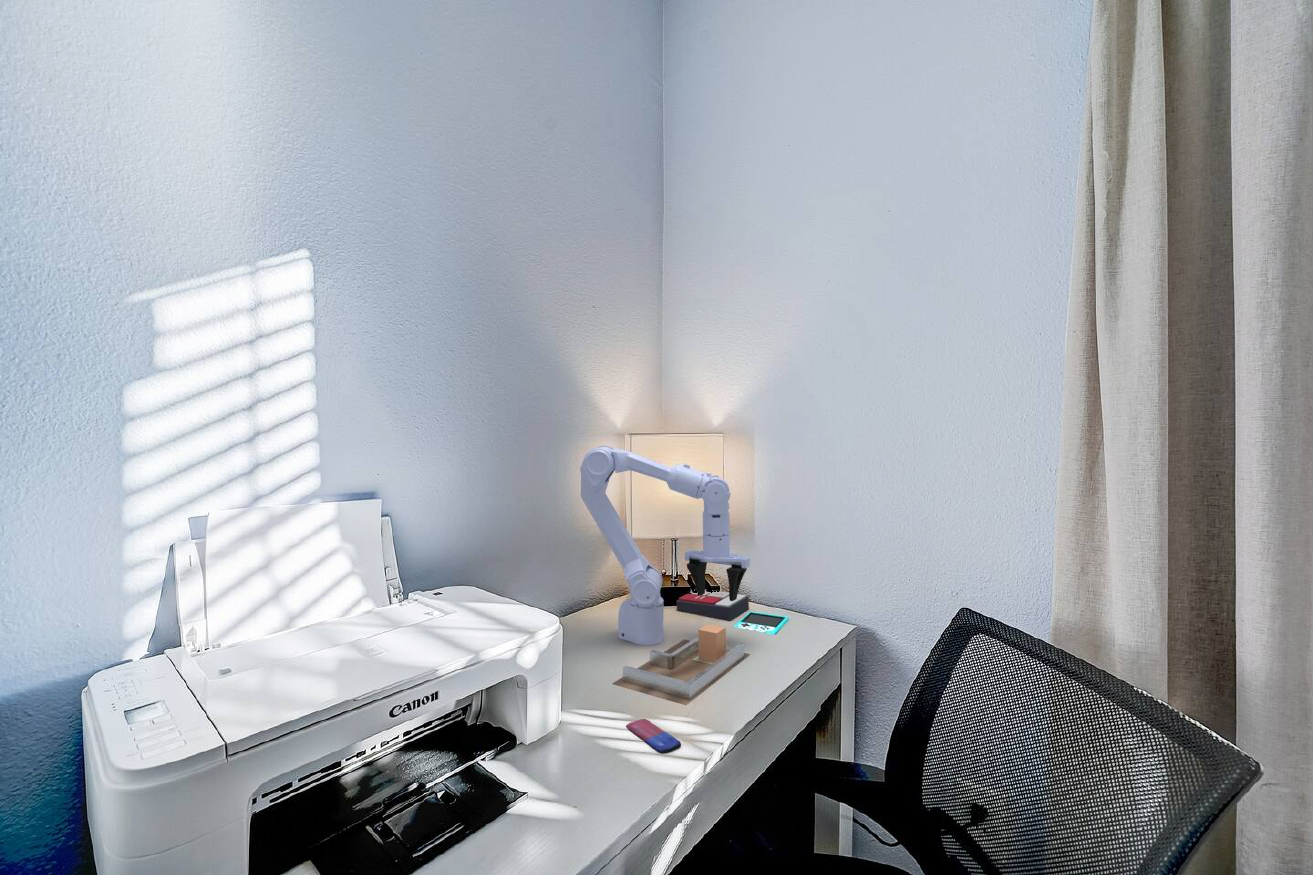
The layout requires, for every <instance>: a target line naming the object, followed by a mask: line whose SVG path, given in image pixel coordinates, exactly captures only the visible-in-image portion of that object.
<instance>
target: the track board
mask: <svg viewBox="0 0 1313 875" xmlns="http://www.w3.org/2000/svg"><path fill="white" fill-rule="evenodd" d="M690 641H691V640H689V639H685V638H684V639H683V640H681V641H679V642H678V643H676V644H674V645H673V646H671V647H669V648H668V649H666V650H665V651H663V652H664V653H668V654H671V653H673V652H674V651H676V650H677V649H679V648H681V647H682V646H684V645H685V644H687V643H689V642H690ZM730 650H731V649H729V648H726V653H728V652H729V651H730ZM751 655H752V654H751V653H746V652H744V658H742V659H741V660H740V661H738V662H737V663H736V664H735V665H733V666H732V667H731V668H729V669H728V670H727V671H726V672H724V673H723V674H722V675H721V676H719V677H718V678H717V679H715V680H714V681H713V682H712V683H710V684H709V685H708V686H707V687H705V688H704V689H703V690H701V691H700V692H699V693H698V694H696V695H695V696H694V697H692V698H691V699H690V700H689V699H685V698H682V697H678V696H675V695H671V694H668V693H664V692H661V691H657V690H653V689H650V688H646V687H643V686H639V685H636V684H632V683H629V682H625V681H623V676H622V677H621V678H619V679H617V680H616V681H614V682H612V683H611V684H612V685H615V686H618V687H620V688H625V689H628V690H632V691H635V692H639V693H642V694H645V695H649V696H653V697H656V698H660V699H662V700H663V699H664V700H665V701H666V700H667V701H670V702H674V703H677V704H681V705H683V706H688V705H689V704H690V703H691V702H693V701H694V700H695V699H696V698H698V697H699V696H700V695H702V694H703V693H704V692H705V691H707V690H708V689H709V688H710V687H711V686H713V685H714V684H716V683H717V682H718V681H719V680H720V679H722V678H723V677H724V676H725V675H727V674H728V673H730V671H731V670H733V669H734V668H735V667H737V666H739V664H741V663H742V662H743V661H744V660H746V658H749V656H751ZM711 664H713V663H711V662H707V661H703V660H699V659H698V653H696V654H695V655H693V656H692V657H690V658H689V659H687V660H686V661H684V662H683V663H681V664H680V665H678V666H677V667H675V668H674V669H672V670H671V669H667V668H663V667H659V666H655V665H651V664H650V660H648V661H647V662H645V663H643V664H642V665H640V666H639V667H636V668H637V669H641V670H645V671H648V672H652V673H656V674H660V675H663V676H667V677H671V678H675V679H679V680H682V681H686V682H688V681H689V680H691V679H692V678H693V677H695V676H696V675H698V674H699V673H700V672H702V671H703V670H704V669H706V668H707V667H708V666H710V665H711Z"/></svg>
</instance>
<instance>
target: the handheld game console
mask: <svg viewBox="0 0 1313 875" xmlns="http://www.w3.org/2000/svg"><path fill="white" fill-rule="evenodd" d="M789 620H790V619H789V616H787V615H781V614H780V615H779V614H773V613H765V612H759V611H749V612H747V613H746V614H745V615H744V616H743V617H742V618H741V619H740V620H739V621H738V622H736V624H734V625H733V627H735V628H738V629H744V630H749V631H752V632H753V631H754V632H759V633H763V634H769V635H774V636H776V635H777V634H778V633H779V632H780V631H781V629H782V628H783V627H784V626H785V625H786V624H787V623H788V621H789ZM785 623H786V624H785ZM784 624H785V625H784ZM783 625H784V626H783ZM782 626H783V627H782ZM778 631H779V632H778ZM777 632H778V633H777ZM776 633H777V634H776ZM775 634H776V635H775Z"/></svg>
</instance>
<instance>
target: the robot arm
mask: <svg viewBox="0 0 1313 875" xmlns="http://www.w3.org/2000/svg"><path fill="white" fill-rule="evenodd" d="M579 470H580V498H581V499H582V502H583V503H584V505H585V507H586V509H587V510H588V511H589V514H590V515H591V517H592V520H594V522H595V523H596V526H597V528H599V530H600V532H601V533H602V535H603V537H604V539H605V541H606V542H607V544H608V546H609V547H610V549H611V550H612V552H613V554H614V556H615V558H616V559H617V561H618V562H619V564H620V566H621V567H622V570H623V574H624V579H625V581H626V582H627V585H628V587H629V595H630V598H627V599H624V600H623V601H622V603H621V604H620V606H619V610H618V615H617V618H618V619H617V620H618V621H617V622H618V625H617V626H618V629H617V630H618V632H617V633H618V639H620V640H623V641H628V642H631V643H633V644H636V645H640V646H654V645H658V644H660V643H661V644H662V642H663V641H664V637H665V636H664V634H665V633H664V628H665V627H664V624H665V623H664V622H665V621H664V618H665V616H664V614H665V613H664V611H665V610H664V609H665V608H664V599H663V597H662V596H661V589H662V586H663V581H664V579H663V576H662V574H661V572H660V571H659V570H658V569H657V568H656V567H654V566H652V565H651V563H650V561H649V560H648V559H647V558H646V557H645V556H643V554H642V552H641V551H640V549H639V547H638V545H637V544H636V542H635V540H634V539H633V537H632V536H631V534H630V532H629V530H628V529H627V527H626V526H625V523H624V522H623V521H622V519H621V518H620V516H619V514H618V512H617V510H616V509H615V507H614V505H613V503H612V502H611V500H610V498H609V497H608V495H607V494H606V493H607V489H608V485H609V483H610V482H609V481H610V479H611V477H612V475H613V474H614V473H615V474H618V473H623V472H628V471H630V472H631V471H632V472H635V473H639V474H640V475H641V474H642V475H645V476H648V477H651V478H653V479H654V478H655V479H657V480H660V481H664V482H665V483H666V485H667V486H668V489H669V490H670V491H674V492H676V493H679V494H682V495H684V496H687V497H691V498H692V499H696V500H699V499H702V500H703V512H702V550H694V549H689V550H686V551H684V560H685V561H687V562H688V563H687V564H686V568H687V570H688V572H689V573H690V576H691V577H692V580H693V582H694V586H695V590H697V594H698V596H701V595H703V594H705V590H706V572H707V564H708V563H709V564H715V565H724V566H730V567H728V568H725V569H726V576H727V579H728V581H727V582H728V592H729V599H730V601H734V600H736V599H737V594H739V593H738V592H739V589H740V585H741V583H742V579H743V578H744V575H745V573H746V572H747V570H748V568H750V566H751V559H750V557H749V556H743V555H739V554H735V553H732V552H731V525H730V524H731V523H730V521H731V520H730V518H731V517H730V514H731V513H730V511H729V509H730V503H729V500H730V498H731V492H730V487H729V484H728V483H727V481H726V480H725V479H724V478H722V477H721V476H719V475H712V472H708V471H706V473H705V472H702V471H699V470H697V469H694V468H691V465H690V464H689V463H687V462H686V463H683V464H680V463H679V464H678V463H677V464H675V465H674V466H672V467H670V466H669V465H668V466H667V465H665V464H662V463H660V462H657V461H655V460H652V459H650V458H647V457H645V456H643V455H639V454H637V453H634V452H632V451H629V450H625V449H621V448H613V447H612V446H609V445H600V446H598V447H596V448H592V449H590V450H589V451H588V452H587V453H586V454H585V455H584V458H583V459H582V462H581V465H580V468H579Z"/></svg>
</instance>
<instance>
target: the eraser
mask: <svg viewBox="0 0 1313 875" xmlns="http://www.w3.org/2000/svg"><path fill="white" fill-rule="evenodd" d="M625 728H626V729H627V730H628V731H629V732H631V733H632V734H633V735H635V736H636V737H638V738H639V739H640V740H641V741H643V742H644V743H645V744H646V745H648V746H649V747H650V748H651V749H652V750H654V751H655V752H656V753H659V754H666V753H671V752H672V751H674V750H677V749H680V748H681V746H682V743H681V741H680V740H678V739H677V738H676V737H674V736H673V735H671V734H670V733H668V732H666V731H665V730H663V729H661V728H660V726H657V725H655V723H653V722H651V721H650V720H649V719H647V718H639V719H638V720H634V721H631V722H629V723H627V724H626V725H625Z"/></svg>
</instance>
